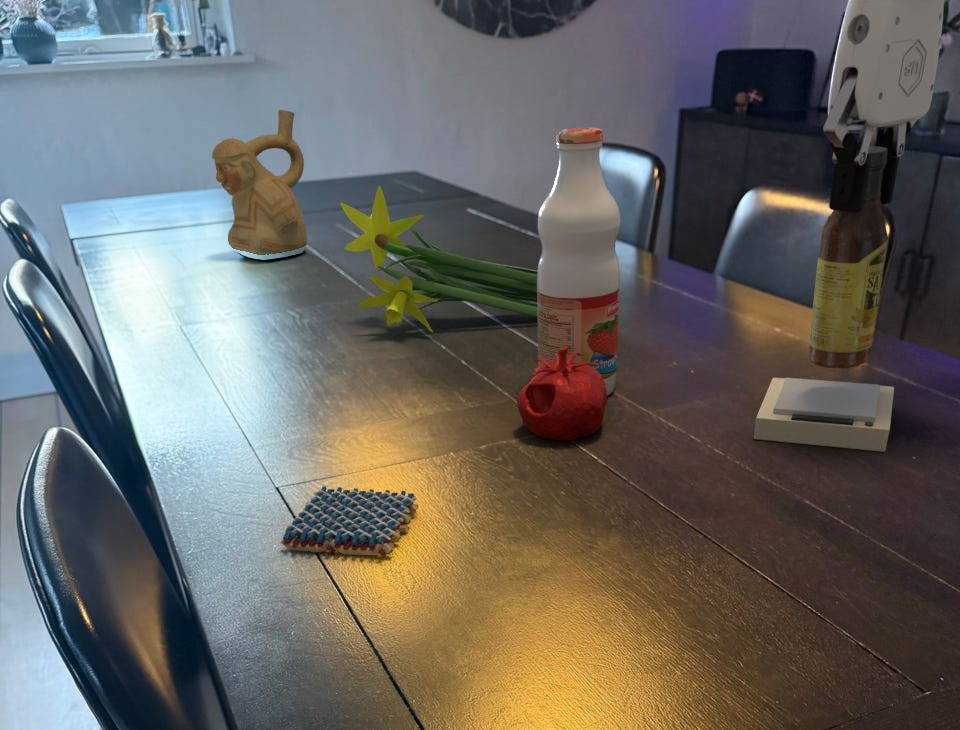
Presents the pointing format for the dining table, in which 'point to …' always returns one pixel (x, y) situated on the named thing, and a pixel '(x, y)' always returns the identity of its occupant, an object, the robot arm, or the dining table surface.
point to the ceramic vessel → (262, 192)
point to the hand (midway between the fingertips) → (860, 204)
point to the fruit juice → (579, 259)
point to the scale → (826, 413)
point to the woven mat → (350, 522)
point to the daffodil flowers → (434, 271)
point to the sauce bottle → (850, 277)
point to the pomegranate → (563, 398)
